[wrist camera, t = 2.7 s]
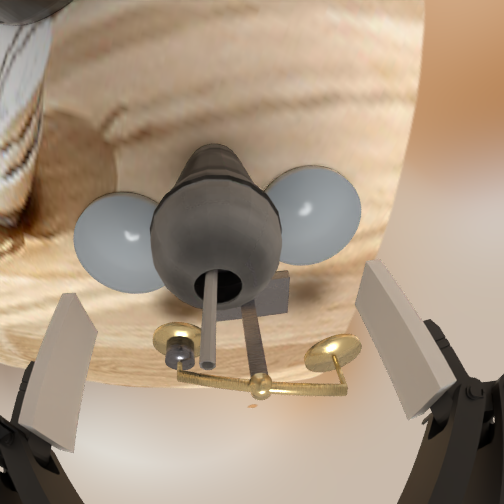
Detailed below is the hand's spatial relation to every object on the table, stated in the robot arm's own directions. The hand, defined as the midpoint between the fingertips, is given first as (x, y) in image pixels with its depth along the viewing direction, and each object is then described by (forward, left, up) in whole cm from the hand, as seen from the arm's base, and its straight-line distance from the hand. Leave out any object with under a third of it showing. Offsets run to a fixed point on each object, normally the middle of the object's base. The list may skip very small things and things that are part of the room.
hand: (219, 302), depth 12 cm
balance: (+16, +2, -16) cm, 23 cm away
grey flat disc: (+7, -10, -16) cm, 20 cm away
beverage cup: (0, 0, -16) cm, 16 cm away
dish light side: (+6, +9, -16) cm, 19 cm away
